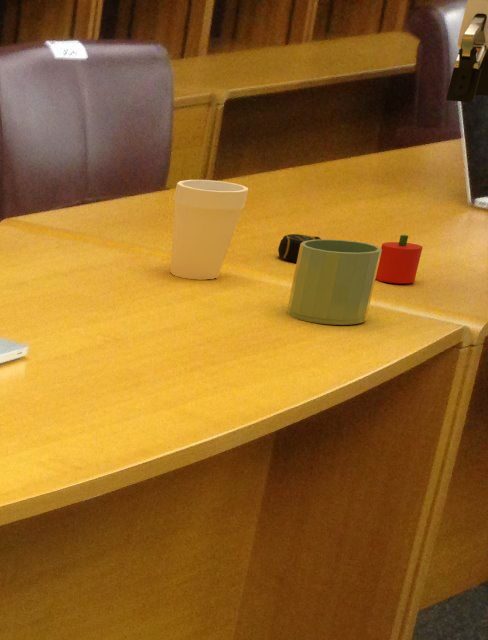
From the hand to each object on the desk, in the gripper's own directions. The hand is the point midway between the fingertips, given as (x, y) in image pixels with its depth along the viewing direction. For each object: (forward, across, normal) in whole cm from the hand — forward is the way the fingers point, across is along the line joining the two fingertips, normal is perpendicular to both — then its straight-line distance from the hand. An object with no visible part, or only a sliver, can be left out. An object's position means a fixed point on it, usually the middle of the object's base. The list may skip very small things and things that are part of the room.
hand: (469, 97), depth 203 cm
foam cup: (+26, -15, +27) cm, 40 cm away
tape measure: (+26, +8, +18) cm, 33 cm away
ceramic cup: (+25, -26, +5) cm, 37 cm away
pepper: (+25, +3, +4) cm, 26 cm away
